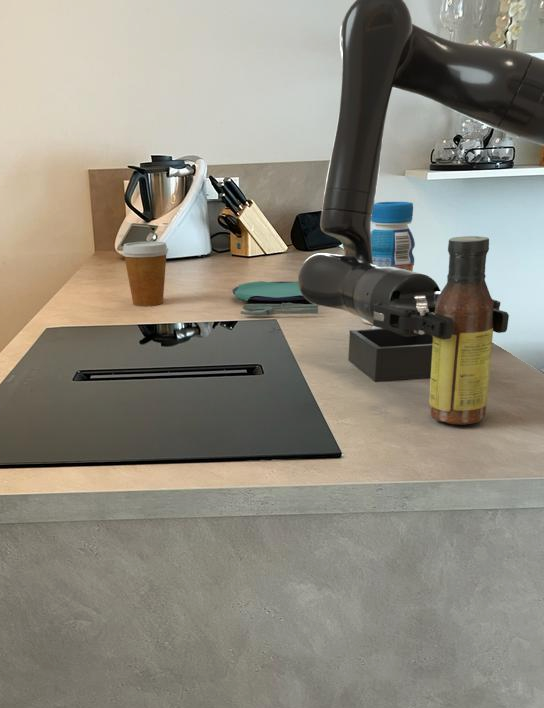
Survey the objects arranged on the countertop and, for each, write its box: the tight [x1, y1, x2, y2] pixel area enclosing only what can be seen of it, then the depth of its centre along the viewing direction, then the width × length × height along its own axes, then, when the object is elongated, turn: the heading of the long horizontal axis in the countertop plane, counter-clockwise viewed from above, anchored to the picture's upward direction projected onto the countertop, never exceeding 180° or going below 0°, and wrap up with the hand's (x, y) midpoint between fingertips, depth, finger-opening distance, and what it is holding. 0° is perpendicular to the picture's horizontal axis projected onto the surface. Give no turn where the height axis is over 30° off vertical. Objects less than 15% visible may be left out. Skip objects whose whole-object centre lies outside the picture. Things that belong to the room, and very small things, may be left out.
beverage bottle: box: [361, 201, 416, 326], centre depth 136 cm, size 8×8×20 cm
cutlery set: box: [232, 280, 319, 316], centre depth 159 cm, size 20×30×2 cm, turn 171°
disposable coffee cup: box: [121, 240, 169, 307], centre depth 162 cm, size 10×10×12 cm
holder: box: [347, 328, 433, 383], centre depth 110 cm, size 11×12×4 cm
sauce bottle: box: [428, 235, 494, 426], centre depth 86 cm, size 6×6×20 cm
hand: (477, 326), depth 83 cm, fingers closed on sauce bottle, 6 cm apart
